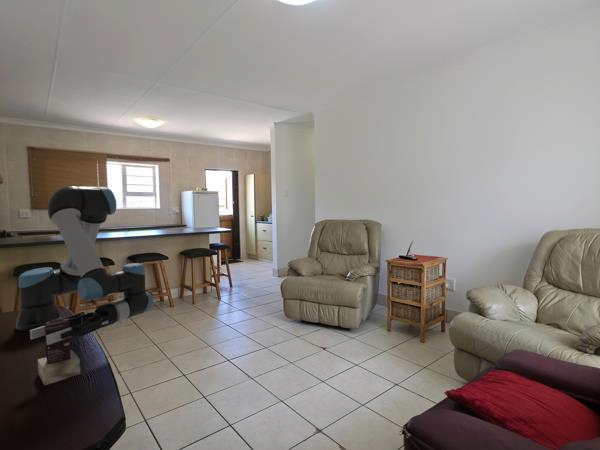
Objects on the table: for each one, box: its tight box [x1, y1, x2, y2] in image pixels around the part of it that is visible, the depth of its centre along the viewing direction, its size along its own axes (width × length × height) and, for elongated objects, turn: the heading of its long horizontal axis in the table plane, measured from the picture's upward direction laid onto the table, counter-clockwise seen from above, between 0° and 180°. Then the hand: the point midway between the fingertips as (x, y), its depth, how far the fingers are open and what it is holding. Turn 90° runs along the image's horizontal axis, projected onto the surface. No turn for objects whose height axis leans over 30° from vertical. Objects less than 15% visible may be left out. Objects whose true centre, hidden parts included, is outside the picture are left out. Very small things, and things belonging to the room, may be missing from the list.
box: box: [44, 318, 71, 364], centre depth 102 cm, size 6×4×12 cm
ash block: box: [37, 349, 81, 386], centre depth 103 cm, size 9×9×5 cm
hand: (39, 337), depth 98 cm, fingers open, 8 cm apart
